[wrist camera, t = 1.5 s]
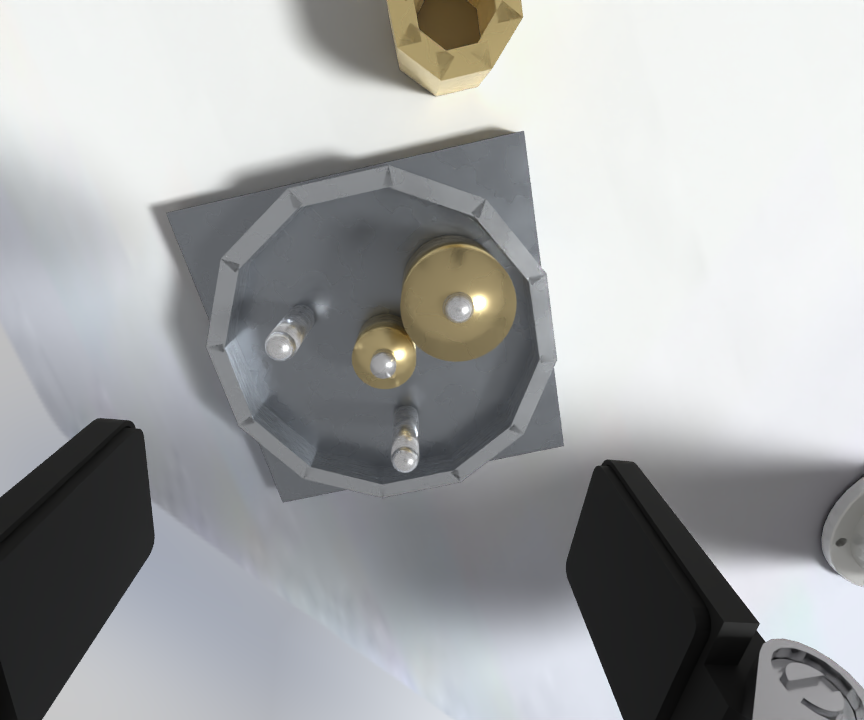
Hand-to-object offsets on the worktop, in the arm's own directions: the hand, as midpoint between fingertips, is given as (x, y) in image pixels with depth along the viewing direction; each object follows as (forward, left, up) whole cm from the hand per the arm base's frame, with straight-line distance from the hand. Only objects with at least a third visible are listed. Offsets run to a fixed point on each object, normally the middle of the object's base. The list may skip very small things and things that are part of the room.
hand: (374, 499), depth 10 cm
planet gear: (-5, -12, -21) cm, 25 cm away
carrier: (+2, +3, -21) cm, 22 cm away
